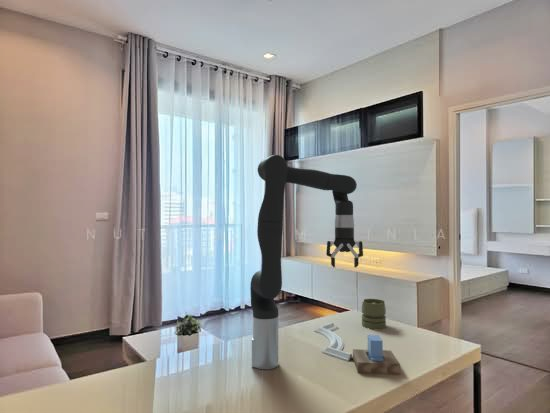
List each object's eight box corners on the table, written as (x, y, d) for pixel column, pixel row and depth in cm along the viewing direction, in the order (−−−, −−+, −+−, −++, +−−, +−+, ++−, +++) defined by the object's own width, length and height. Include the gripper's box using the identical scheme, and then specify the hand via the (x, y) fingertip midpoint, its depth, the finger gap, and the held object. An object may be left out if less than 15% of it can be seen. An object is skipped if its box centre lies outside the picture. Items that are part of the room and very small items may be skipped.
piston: (360, 302, 167) (363, 297, 177) (360, 327, 166) (363, 321, 177) (384, 304, 163) (386, 299, 173) (385, 330, 162) (386, 324, 173)
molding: (358, 363, 127) (358, 355, 127) (325, 362, 127) (325, 354, 127) (337, 327, 169) (337, 321, 169) (312, 327, 169) (312, 321, 169)
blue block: (371, 371, 118) (371, 342, 119) (367, 360, 127) (366, 333, 127) (383, 372, 118) (383, 342, 118) (378, 361, 127) (377, 333, 127)
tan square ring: (357, 372, 117) (357, 362, 117) (352, 358, 129) (352, 349, 129) (400, 374, 116) (400, 363, 116) (391, 360, 128) (391, 350, 128)
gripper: (360, 226, 141) (361, 266, 141) (325, 226, 142) (326, 265, 142) (364, 226, 134) (364, 268, 133) (327, 226, 135) (327, 268, 134)
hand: (344, 267), depth 137 cm, fingers open, 8 cm apart
